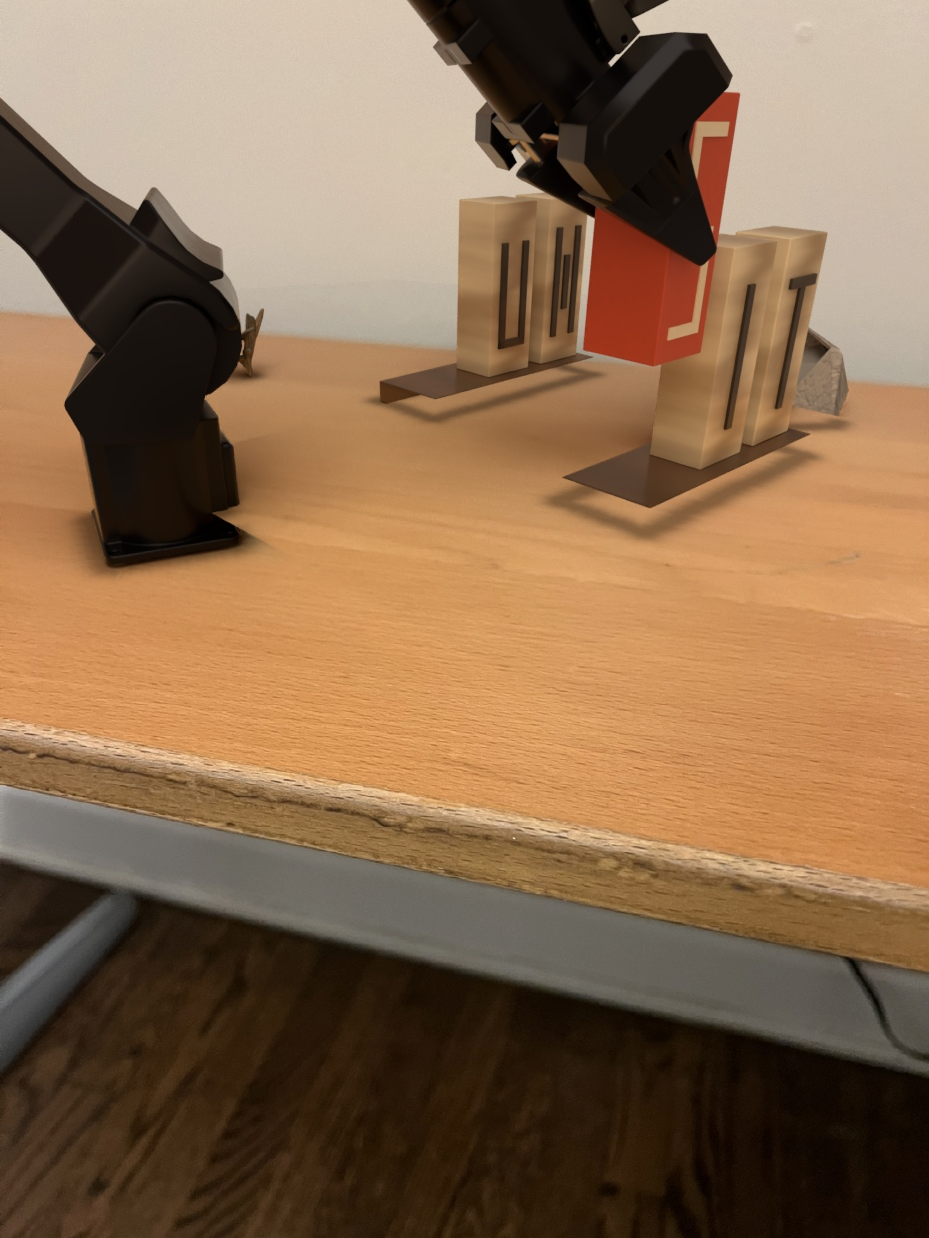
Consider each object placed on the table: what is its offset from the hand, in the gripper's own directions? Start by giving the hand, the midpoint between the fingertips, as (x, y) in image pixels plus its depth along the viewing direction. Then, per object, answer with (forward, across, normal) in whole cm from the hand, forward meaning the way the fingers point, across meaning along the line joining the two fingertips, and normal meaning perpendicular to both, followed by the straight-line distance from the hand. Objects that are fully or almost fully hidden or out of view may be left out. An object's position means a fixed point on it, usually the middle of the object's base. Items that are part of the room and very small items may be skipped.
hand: (679, 248), depth 46 cm
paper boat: (+22, +14, -2) cm, 26 cm away
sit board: (+12, +2, +7) cm, 14 cm away
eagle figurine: (-8, +31, +28) cm, 42 cm away
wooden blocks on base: (+7, +23, +12) cm, 27 cm away
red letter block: (+3, 0, +5) cm, 5 cm away
